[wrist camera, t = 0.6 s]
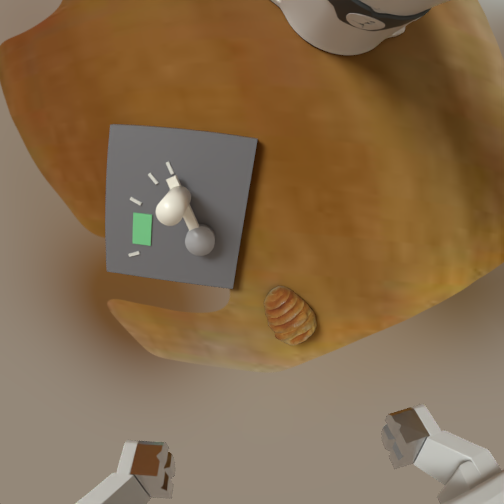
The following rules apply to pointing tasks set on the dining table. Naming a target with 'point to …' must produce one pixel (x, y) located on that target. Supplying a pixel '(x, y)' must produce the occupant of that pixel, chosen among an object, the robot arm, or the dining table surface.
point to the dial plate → (156, 187)
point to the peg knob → (185, 218)
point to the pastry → (289, 316)
